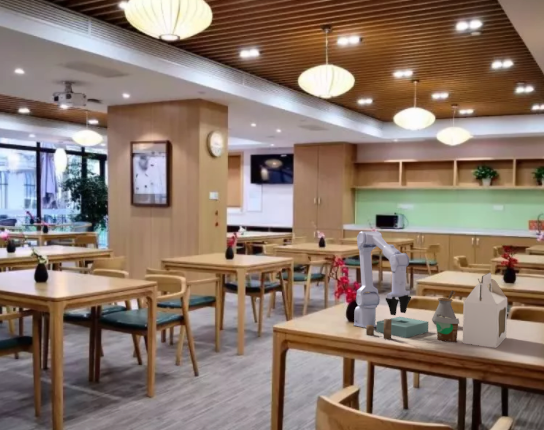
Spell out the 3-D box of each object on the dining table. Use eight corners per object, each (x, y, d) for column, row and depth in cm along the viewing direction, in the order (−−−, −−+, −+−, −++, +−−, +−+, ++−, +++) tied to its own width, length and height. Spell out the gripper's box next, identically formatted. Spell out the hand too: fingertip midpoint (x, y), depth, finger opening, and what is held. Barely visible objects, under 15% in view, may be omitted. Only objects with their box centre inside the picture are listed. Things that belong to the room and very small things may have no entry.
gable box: (474, 333, 255) (476, 270, 254) (506, 337, 248) (507, 273, 247) (462, 343, 236) (463, 275, 235) (496, 348, 229) (498, 278, 228)
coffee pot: (454, 330, 261) (454, 297, 261) (428, 327, 267) (429, 294, 267) (464, 322, 279) (465, 291, 279) (440, 319, 285) (441, 289, 285)
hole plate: (376, 331, 255) (376, 321, 255) (399, 326, 268) (399, 316, 267) (405, 337, 244) (406, 327, 244) (428, 331, 257) (428, 321, 257)
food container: (428, 337, 246) (428, 314, 246) (440, 336, 248) (440, 313, 248) (446, 343, 235) (447, 319, 234) (458, 342, 237) (459, 318, 237)
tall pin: (381, 338, 243) (382, 319, 242) (386, 337, 245) (386, 318, 245) (388, 339, 240) (388, 320, 240) (392, 338, 243) (393, 319, 242)
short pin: (364, 334, 249) (364, 325, 249) (369, 333, 251) (369, 324, 251) (370, 335, 247) (370, 326, 247) (375, 334, 249) (375, 325, 249)
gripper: (397, 284, 235) (396, 317, 235) (416, 281, 245) (415, 313, 246) (382, 282, 240) (382, 314, 241) (402, 279, 250) (401, 310, 251)
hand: (398, 313), depth 243 cm, fingers open, 7 cm apart
